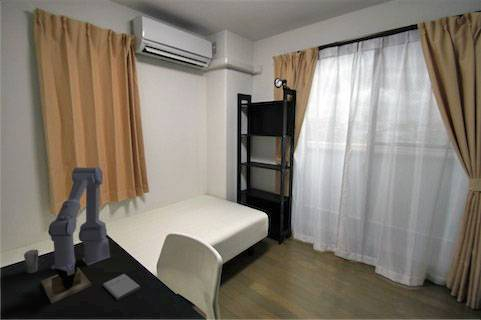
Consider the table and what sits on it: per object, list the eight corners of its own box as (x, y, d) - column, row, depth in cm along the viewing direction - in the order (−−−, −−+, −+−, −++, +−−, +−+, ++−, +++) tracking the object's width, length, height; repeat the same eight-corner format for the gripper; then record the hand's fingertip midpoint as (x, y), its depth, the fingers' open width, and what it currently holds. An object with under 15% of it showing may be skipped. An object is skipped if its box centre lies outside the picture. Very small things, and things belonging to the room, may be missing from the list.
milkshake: (32, 275, 92) (30, 252, 91) (22, 273, 93) (20, 250, 92) (44, 268, 96) (42, 247, 95) (34, 267, 97) (32, 245, 96)
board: (78, 269, 96) (77, 267, 96) (91, 285, 86) (90, 283, 86) (41, 283, 87) (41, 280, 87) (51, 303, 77) (51, 300, 77)
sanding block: (77, 279, 88) (77, 268, 88) (81, 283, 86) (80, 272, 85) (52, 289, 82) (51, 278, 82) (54, 294, 80) (53, 282, 79)
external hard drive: (118, 302, 79) (103, 287, 87) (140, 289, 86) (124, 276, 93) (117, 297, 79) (103, 283, 86) (140, 285, 85) (124, 273, 93)
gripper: (45, 248, 84) (48, 281, 85) (55, 262, 75) (58, 299, 76) (68, 241, 89) (71, 273, 91) (80, 254, 80) (82, 289, 82)
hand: (66, 284), depth 84 cm, fingers closed on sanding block, 4 cm apart
